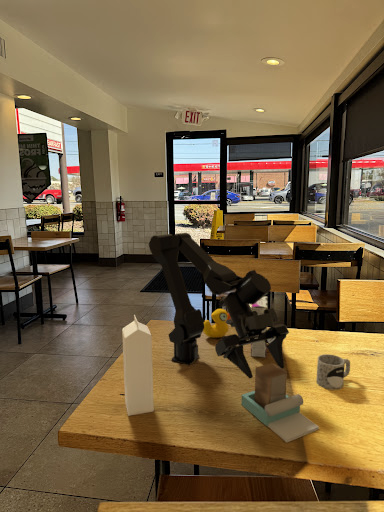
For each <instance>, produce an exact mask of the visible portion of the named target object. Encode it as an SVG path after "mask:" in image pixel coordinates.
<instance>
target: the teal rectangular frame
mask: <svg viewBox="0 0 384 512" xmlns="http://www.w3.org/2000/svg"><path fill="white" fill-rule="evenodd" d="M240 398H241V399H240V401H241V404H240V405H241V406H243V408H245V409H246V410H247V411H248V412H250V413H251V414H252V415H253V416H254V417H255V418H256V419H258V420H259V421H260V422H261V423H262V424H263V425H265V426H266V427H268V428H269V429H270V430H272V432H274V433H275V434H276V435H277V436H279V438H280V439H282V440H283V441H284V442H285V443H290V442H291V441H294V440H296V439H298V438H301V437H304V436H307V435H308V434H311V433H314V432H316V431H318V430H320V429H319V428H320V426H319V425H318V424H316V423H315V422H313V421H312V420H310V419H309V418H308V417H307V416H305V415H304V414H302V413H301V412H300V410H301V406H303V405H304V398H303V396H302V395H301V394H299V393H298V394H294V395H292V396H289V395H288V394H286V398H285V399H282V400H279V401H276V402H273V403H271V404H268V405H265V410H264V409H263V408H262V407H261V406H259V405H258V404H257V403H256V402H255V390H253V391H249V392H245V393H244V394H241V397H240Z"/></svg>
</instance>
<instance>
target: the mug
mask: <svg viewBox="0 0 384 512" xmlns="http://www.w3.org/2000/svg"><path fill="white" fill-rule="evenodd" d="M350 372H351V360H349V359H348V358H342V357H340V356H338V355H336V354H335V355H334V354H325V353H324V354H320V355H319V356H318V357H317V366H316V384H317V385H318V386H319V387H321V388H323V389H326V390H330V391H337V390H341V389H343V387H344V378H346V377H348V375H350Z"/></svg>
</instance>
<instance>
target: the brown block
mask: <svg viewBox="0 0 384 512" xmlns="http://www.w3.org/2000/svg"><path fill="white" fill-rule="evenodd" d="M254 374H255V378H254V379H255V380H254V391H255V402H256V403H257V404H258V405H259V406H261V407H262V408H263V409H264V410H265V405H268V404H271V403H273V402H276V401H279V400H282V399H285V398H286V395H287V378H288V371H287V370H285V369H284V368H283V369H282V368H280V367H279V366H278V365H277V364H275V363H274V362H271V363H267V364H263V365H259V366H256V367H255V373H254Z"/></svg>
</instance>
